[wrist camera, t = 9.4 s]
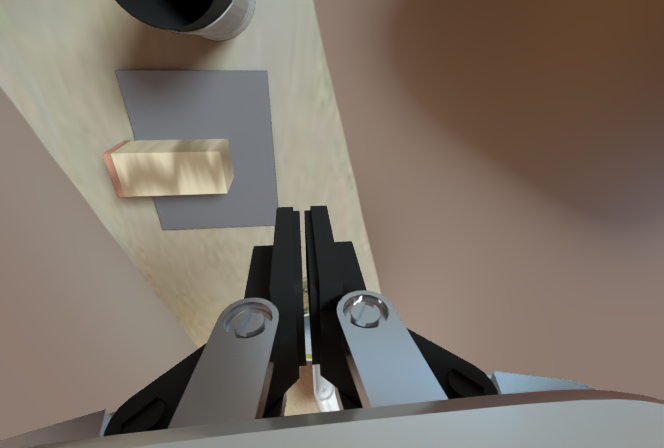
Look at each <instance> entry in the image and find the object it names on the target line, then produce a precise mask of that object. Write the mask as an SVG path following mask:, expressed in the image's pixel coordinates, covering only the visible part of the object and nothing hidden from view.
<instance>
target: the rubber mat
mask: <svg viewBox="0 0 664 448" xmlns="http://www.w3.org/2000/svg"><path fill="white" fill-rule="evenodd" d="M115 72H116V76H117V79H118V82H119V86H120V89H121V92H122V96H123V99H124V102H125V106H126V109H127V112H128V115H129V119H130V122H131V125H132V129H133V132H134V135H135V139H136V140H195V139H228V142H229V148H230V155H231V161H232V168H233V174H234V178H233V181H232V183H231V186H230V188H229V190H228V193H224V194H193V195H163V196H153V198H154V201H155V205H156V208H157V211H158V215H159V218H160V221H161V225H162V228H163V230H176V229H199V228H222V227H245V226H267V225H275V221H276V210H277V208H278V197H277V185H276V173H275V160H274V148H273V136H272V124H271V112H270V99H269V87H268V75H267V71H205V70H115Z"/></svg>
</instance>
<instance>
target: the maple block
mask: <svg viewBox="0 0 664 448" xmlns="http://www.w3.org/2000/svg"><path fill="white" fill-rule="evenodd" d="M103 157H104V160H105V163H106V165H107V168H108V171H109V174H110V176H111V179H112V182H113V185H114V187H115V190H116V193H117V196H118V197H133V196H163V195H193V194H224V193H228V190H229V188H230V186H231V183H232V181H233V178H234V174H233V168H232V161H231V155H230V148H229V142H228V139H195V140H133V141H123V142H121V143H119V144H118V145H116V146H114V147H113V148H111V149H109V150H108V151H106V152H104V153H103Z"/></svg>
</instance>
